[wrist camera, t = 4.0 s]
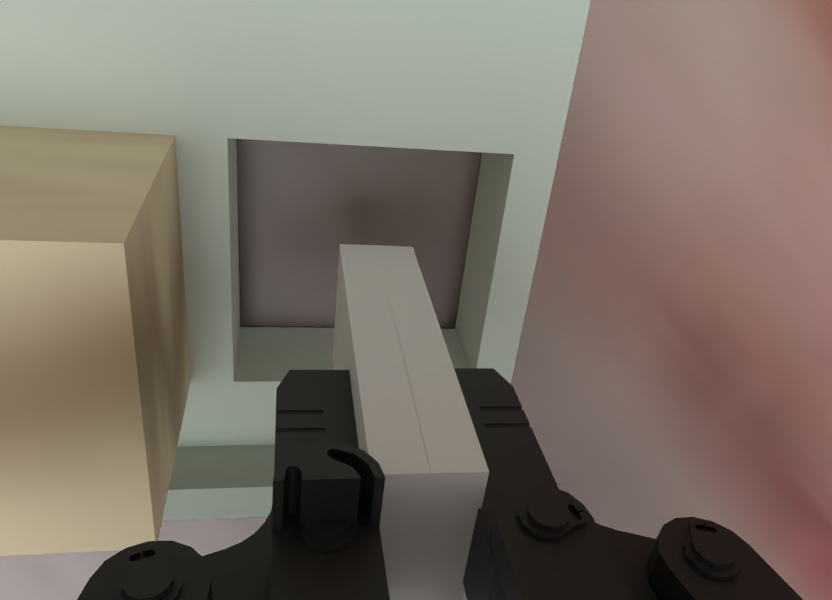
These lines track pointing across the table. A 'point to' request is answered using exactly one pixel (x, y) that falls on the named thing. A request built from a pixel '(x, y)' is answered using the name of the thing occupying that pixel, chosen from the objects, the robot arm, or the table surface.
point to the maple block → (88, 338)
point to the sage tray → (310, 123)
